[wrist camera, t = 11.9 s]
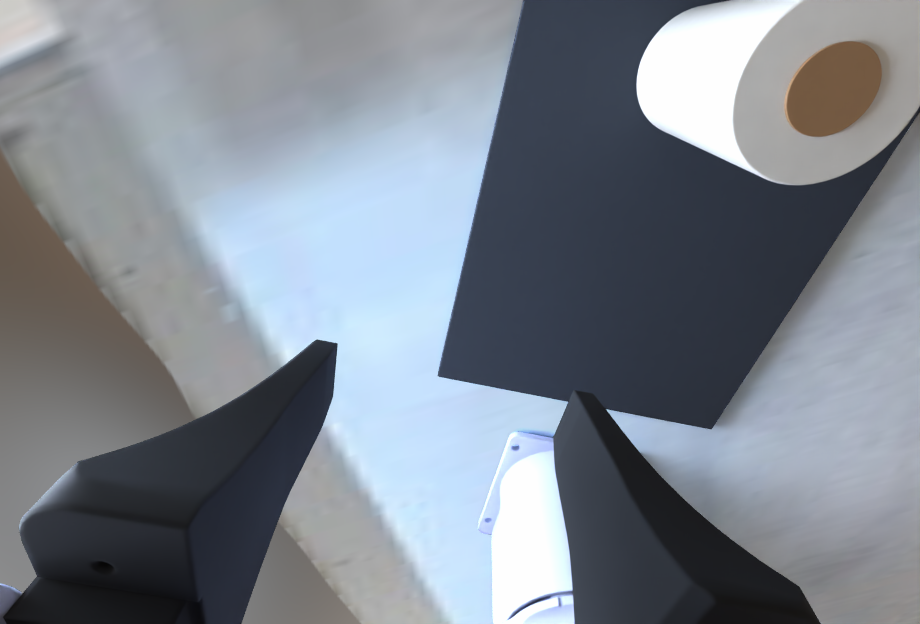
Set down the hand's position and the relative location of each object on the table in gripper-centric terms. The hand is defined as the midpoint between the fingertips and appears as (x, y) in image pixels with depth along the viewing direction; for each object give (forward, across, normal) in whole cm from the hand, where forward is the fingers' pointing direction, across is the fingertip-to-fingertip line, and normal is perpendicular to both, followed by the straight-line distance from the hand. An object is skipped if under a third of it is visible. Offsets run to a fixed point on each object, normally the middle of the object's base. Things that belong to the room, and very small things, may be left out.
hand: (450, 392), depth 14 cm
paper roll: (+5, -7, -8) cm, 12 cm away
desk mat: (+10, -8, -4) cm, 13 cm away
